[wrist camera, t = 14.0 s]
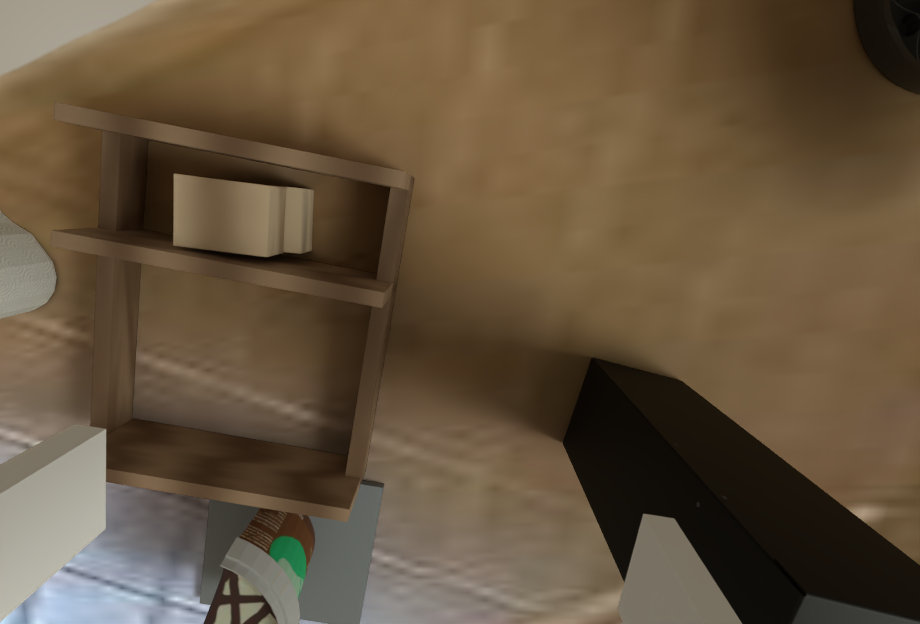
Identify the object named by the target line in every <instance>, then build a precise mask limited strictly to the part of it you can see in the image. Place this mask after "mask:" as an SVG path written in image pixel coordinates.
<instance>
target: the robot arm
mask: <svg viewBox="0 0 920 624" xmlns="http://www.w3.org/2000/svg"><path fill="white" fill-rule="evenodd" d="M854 6H855V16H856V22H857V27H858V31H859V34H860V37H861V40H862V43H863V45H864V47H865V49H866V51H867V53H868V55H869V56H870V58H871V60H872V61H873V62H874V64H875V65H876V66H877V67H878V69H879V70H880V71H881V72H882V73H883V74H884V75H885V76H886V77H888V78H889V79H890V80H891V81H893V82H894V83H896V84H897V85H899V86H901V87H902V88H904V89H906V90H909V91H911V92H914V93H917V94H920V0H854ZM105 529H106V429H103V428H97V427H91V426H84V425H78V424H73V425H72V426H70V427H68V428H66V429H64V430H63V431H61V432H59V433H57V434H55V435H53V436H52V437H50V438H48V439H46V440H44V441H43V442H41V443H39V444H37V445H35V446H33V447H32V448H30V449H28V450H26V451H24V452H23V453H21V454H19V455H17V456H15V457H14V458H12V459H10V460H8V461H6V462H4V463H3V464H1V465H0V622H1V621H2V620H3V619H4V618H5V617H7V616H8V615H9V614H10V613H11V612H12V611H13V610H14V609H16V608H17V607H18V606H19V605H20V604H21V603H22V602H23V601H25V600H26V599H27V598H28V597H29V596H30V595H31V594H33V593H34V592H35V591H36V590H37V589H38V588H39V587H40V586H42V585H43V584H44V583H45V582H46V581H47V580H48V579H49V578H51V577H52V576H53V575H54V574H55V573H56V572H57V571H59V570H60V569H61V568H62V567H63V566H64V565H65V564H66V563H68V562H69V561H70V560H71V559H72V558H73V557H74V556H75V555H77V554H78V553H79V552H80V551H81V550H82V549H83V548H85V547H86V546H87V545H88V544H89V543H90V542H91V541H92V540H94V539H95V538H96V537H97V536H98V535H99V534H100V533H101V532H103V531H104V530H105ZM618 611H619V614H620V616H621V619H622V622H623V624H742V623H741V621H740V619H739V618H738V616H737V615H736V613H735V612H734V610H733V609H732V607H731V606H730V604H729V602H728V601H727V599H726V598H725V596H724V595H723V593H722V592H721V590H720V589H719V587H718V585H717V584H716V582H715V581H714V579H713V578H712V576H711V575H710V573H709V572H708V570H707V568H706V567H705V565H704V564H703V562H702V561H701V559H700V558H699V556H698V554H697V553H696V551H695V550H694V548H693V547H692V545H691V544H690V542H689V541H688V539H687V537H686V536H685V534H684V533H683V531H682V530H681V528H680V527H679V525H678V524H677V522H676V520H675V519H674V518H668V517H662V516H655V515H649V514H643V517H642V520H641V524H640V528H639V531H638V535H637V539H636V542H635V546H634V550H633V553H632V557H631V561H630V564H629V568H628V572H627V576H626V579H625V583H624V587H623V590H622V594H621V598H620V601H619V605H618Z"/></svg>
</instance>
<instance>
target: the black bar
mask: <svg viewBox="0 0 920 624" xmlns="http://www.w3.org/2000/svg"><path fill="white" fill-rule="evenodd" d="M563 445H564V447H565V449H566V452H567V454H568V456H569V458H570V461H571V463H572V465H573V468H574V470H575V472H576V474H577V477H578V479H579V481H580V483H581V486H582V488H583V490H584V492H585V495H586V497H587V499H588V501H589V504H590V506H591V508H592V510H593V513H594V515H595V517H596V519H597V522H598V524H599V526H600V528H601V531H602V533H603V535H604V537H605V540H606V542H607V544H608V546H609V549H610V551H611V553H612V555H613V558H614V560H615V562H616V565H617V567H618V569H619V571H620V574H621V576H622V578H623V580H624V583H625V579H626V576H627V572H628V568H629V564H630V561H631V557H632V553H633V550H634V546H635V542H636V539H637V535H638V531H639V528H640V524H641V520H642V517H643V514H649V515H655V516H662V517H668V518H674V519H675V520H676V522H677V524H678V525H679V527H680V528H681V530H682V531H683V533H684V534H685V536H686V537H687V539H688V541H689V542H690V544H691V545H692V547H693V548H694V550H695V551H696V553H697V554H698V556H699V558H700V559H701V561H702V562H703V564H704V565H705V567H706V568H707V570H708V572H709V573H710V575H711V576H712V578H713V579H714V581H715V582H716V584H717V585H718V587H719V589H720V590H721V592H722V593H723V595H724V596H725V598H726V599H727V601H728V602H729V604H730V606H731V607H732V609H733V610H734V612H735V613H736V615H737V616H738V618H739V619H740V621H741V623H742V624H920V565H919V564H917V563H916V562H915V561H914V560H912V559H911V558H910V557H908V556H907V555H906V554H904V553H903V552H902V551H901V550H899V549H898V548H897V547H895V546H894V545H893V544H892V543H890V542H889V541H888V540H886V539H885V538H884V537H883V536H881V535H880V534H879V533H877V532H876V531H875V530H873V529H872V528H871V527H870V526H868V525H867V524H866V523H864V522H863V521H862V520H861V519H859V518H858V517H857V516H855V515H854V514H853V513H852V512H850V511H849V510H848V509H846V508H845V507H844V506H842V505H841V504H840V503H839V502H837V501H836V500H835V499H833V498H832V497H831V496H830V495H828V494H827V493H826V492H824V491H823V490H822V489H821V488H819V487H818V486H817V485H815V484H814V483H813V482H811V481H810V480H809V479H808V478H806V477H805V476H804V475H802V474H801V473H800V472H799V471H797V470H796V469H795V468H793V467H792V466H791V465H790V464H788V463H787V462H786V461H784V460H783V459H782V458H780V457H779V456H778V455H777V454H775V453H774V452H773V451H771V450H770V449H769V448H768V447H766V446H765V445H764V444H762V443H761V442H760V441H759V440H757V439H756V438H755V437H753V436H752V435H751V434H750V433H748V432H747V431H746V430H744V429H743V428H742V427H740V426H739V425H738V424H737V423H735V422H734V421H733V420H731V419H730V418H729V417H728V416H726V415H725V414H724V413H722V412H721V411H720V410H719V409H717V408H716V407H715V406H713V405H712V404H711V403H709V402H708V401H707V400H706V399H704V398H703V397H702V396H700V395H699V394H698V393H697V392H695V391H694V390H693V389H691V388H690V387H689V386H688V385H686V384H685V383H684V382H682V381H679V380H676V379H672V378H668V377H664V376H660V375H657V374H653V373H649V372H645V371H642V370H638V369H634V368H630V367H626V366H623V365H619V364H615V363H611V362H607V361H604V360H600V359H596V358H592V359H591V362H590V365H589V368H588V371H587V374H586V377H585V380H584V383H583V386H582V389H581V392H580V394H579V397H578V400H577V403H576V406H575V409H574V412H573V415H572V418H571V421H570V424H569V427H568V430H567V433H566V436H565V438H564V441H563Z"/></svg>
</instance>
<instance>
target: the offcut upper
mask: <svg viewBox="0 0 920 624" xmlns="http://www.w3.org/2000/svg"><path fill="white" fill-rule="evenodd" d="M286 189H287V188H283V187H276V186H268V185H260V184H252V183H245V182H237V181H229V180H221V179H214V178H206V177H198V176H190V175H182V174H174V222H173V246H181V247H189V248H197V249H205V250H213V251H221V252H229V253H237V254H245V255H253V256H261V257H270V256H274V255H278V254H281V253H283V246H284V227H285V208H286Z"/></svg>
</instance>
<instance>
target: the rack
mask: <svg viewBox="0 0 920 624" xmlns="http://www.w3.org/2000/svg"><path fill="white" fill-rule="evenodd" d="M54 120H57V121H61V122H66V123H71V124H75V125H80V126H84V127H89V128H93V129H98V130H102V149H101V174H100V199H99V224H98V228H86V229H67V230H52V232H51V247H56V248H62V249H67V250H73V251H78V252H83V253H89V254H94V255H97V274H96V299H95V324H94V349H93V374H92V399H91V424H90V426H91V427H97V428H103V429H106V482H110V483H116V484H122V485H128V486H134V487H140V488H146V489H152V490H158V491H164V492H169V493H175V494H181V495H187V496H193V497H199V498H205V499H211V500H217V501H223V502H229V503H235V504H241V505H247V506H253V507H259V508H265V509H271V510H277V511H283V512H289V513H295V514H301V515H307V516H313V517H319V518H325V519H331V520H337V521H343V522H348V519H349V516H350V513H351V510H352V507H353V505H354V502H355V499H356V496H357V493H358V490H359V488H360V485H361V482H362V479H363V476H364V474H365V471H366V466H367V460H368V454H369V448H370V442H371V436H372V430H373V424H374V418H375V412H376V406H377V400H378V394H379V388H380V382H381V376H382V370H383V364H384V358H385V352H386V346H387V340H388V334H389V328H390V322H391V316H392V310H393V304H394V298H395V292H396V286H397V280H398V274H399V268H400V262H401V256H402V250H403V244H404V238H405V232H406V226H407V220H408V214H409V208H410V202H411V196H412V190H413V184H414V178H413V177H412V176H410V175H409V174H407V173H406V172H405V171H400V170H395V169H390V168H385V167H380V166H375V165H370V164H365V163H360V162H355V161H350V160H345V159H340V158H335V157H330V156H325V155H320V154H314V153H309V152H304V151H299V150H294V149H289V148H284V147H279V146H274V145H269V144H264V143H259V142H254V141H249V140H244V139H239V138H234V137H229V136H224V135H219V134H214V133H209V132H203V131H198V130H193V129H188V128H183V127H178V126H173V125H168V124H163V123H158V122H153V121H148V120H143V119H138V118H133V117H128V116H123V115H118V114H113V113H108V112H103V111H98V110H92V109H87V108H82V107H77V106H72V105H67V104H62V103H57V102H54ZM148 140H150V141H155V142H160V143H166V144H171V145H176V146H181V147H186V148H191V149H196V150H201V151H206V152H211V153H216V154H221V155H227V156H232V157H237V158H242V159H247V160H252V161H257V162H262V163H267V164H272V165H277V166H283V167H288V168H293V169H298V170H303V171H308V172H313V173H318V174H323V175H328V176H333V177H339V178H344V179H349V180H354V181H359V182H364V183H369V184H374V185H379V186H384V187H389V188H391V189H390V195H389V201H388V208H387V214H386V220H385V227H384V233H383V239H382V246H381V252H380V258H379V265H378V271H377V273H372V272H366V271H361V270H356V269H351V268H345V267H340V266H335V265H329V264H324V263H319V262H313V261H308V260H303V259H298V258H292V257H287V256H282V255H274V256H270V257H261V256H253V255H245V254H237V253H229V252H221V251H213V250H205V249H197V248H189V247H181V246H173V235H171V234H165V233H160V232H155V231H149V230H144V229H143V222H144V205H145V188H146V171H147V154H148ZM141 263H142V264H148V265H153V266H159V267H164V268H169V269H175V270H180V271H186V272H191V273H196V274H202V275H207V276H212V277H218V278H223V279H229V280H234V281H239V282H245V283H250V284H255V285H261V286H266V287H272V288H277V289H282V290H288V291H293V292H298V293H304V294H309V295H315V296H320V297H325V298H331V299H336V300H341V301H347V302H352V303H358V304H363V305H368V306H372V309H371V315H370V322H369V328H368V334H367V341H366V347H365V353H364V360H363V366H362V372H361V379H360V385H359V391H358V398H357V404H356V410H355V417H354V423H353V429H352V436H351V442H350V448H349V455H348V456H346V455H341V454H335V453H329V452H323V451H318V450H312V449H306V448H300V447H294V446H289V445H283V444H277V443H271V442H265V441H260V440H254V439H248V438H242V437H236V436H231V435H225V434H219V433H213V432H207V431H202V430H196V429H190V428H184V427H179V426H173V425H167V424H161V423H155V422H150V421H144V420H138V419H132V410H133V393H134V376H135V359H136V342H137V325H138V308H139V291H140V274H141Z"/></svg>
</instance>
